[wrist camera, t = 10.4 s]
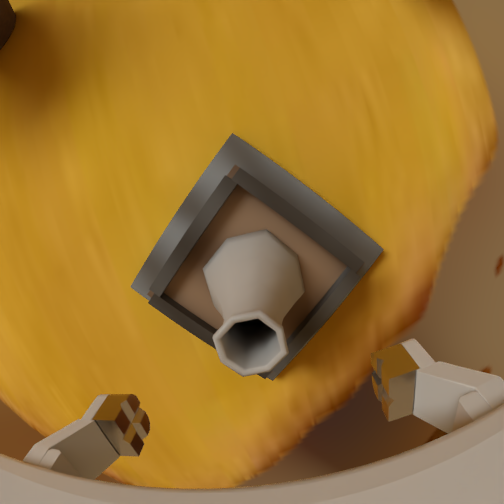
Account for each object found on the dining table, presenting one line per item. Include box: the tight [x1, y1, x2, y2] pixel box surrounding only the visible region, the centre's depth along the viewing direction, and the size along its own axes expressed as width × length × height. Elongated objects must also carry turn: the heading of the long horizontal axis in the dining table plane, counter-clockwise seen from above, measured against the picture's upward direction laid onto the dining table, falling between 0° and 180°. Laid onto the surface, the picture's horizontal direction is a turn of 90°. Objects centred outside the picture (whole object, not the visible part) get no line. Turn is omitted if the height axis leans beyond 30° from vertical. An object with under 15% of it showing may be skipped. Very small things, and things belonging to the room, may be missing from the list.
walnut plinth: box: [131, 133, 384, 381], centre depth 24 cm, size 16×16×5 cm
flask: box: [203, 229, 305, 377], centre depth 18 cm, size 7×7×10 cm
